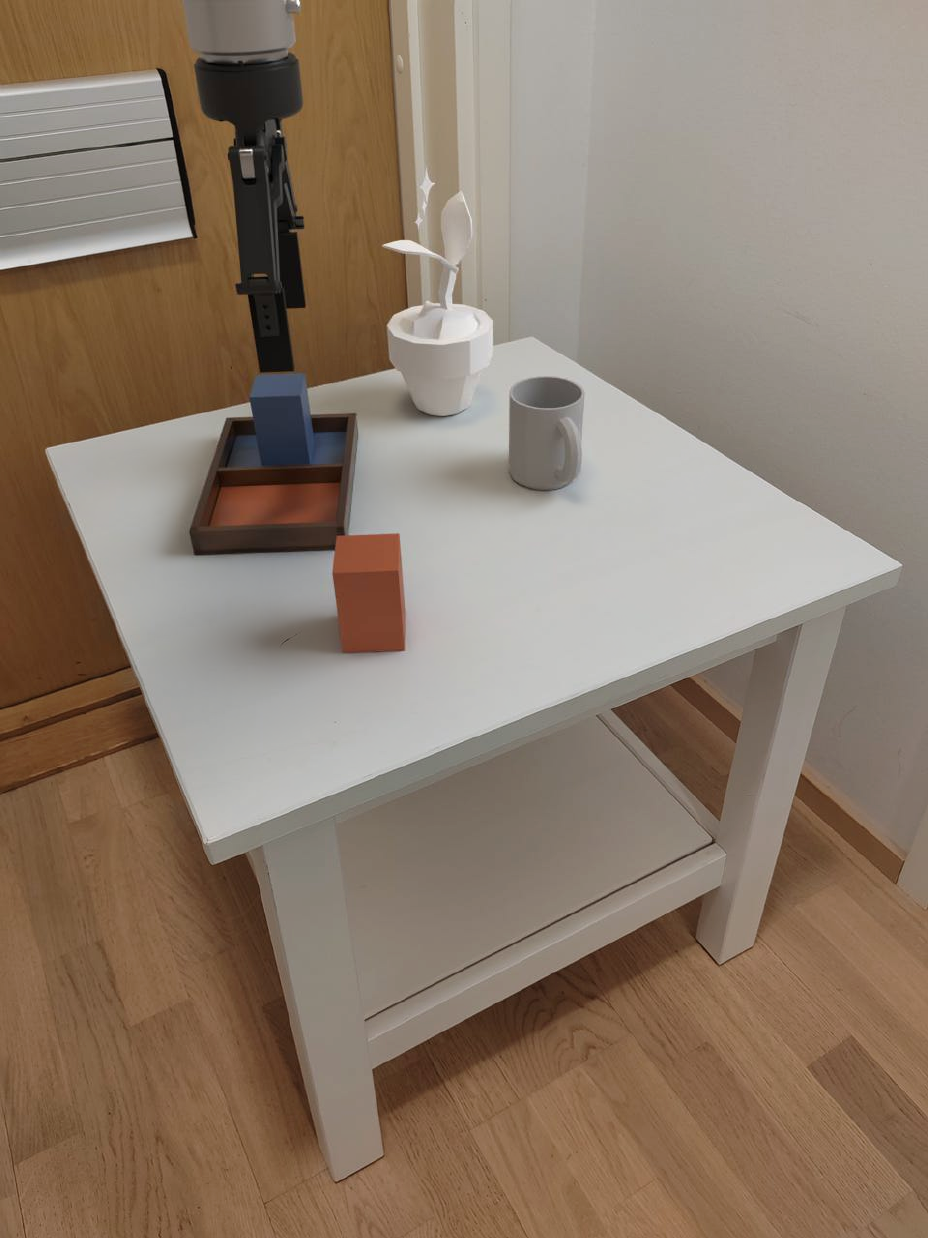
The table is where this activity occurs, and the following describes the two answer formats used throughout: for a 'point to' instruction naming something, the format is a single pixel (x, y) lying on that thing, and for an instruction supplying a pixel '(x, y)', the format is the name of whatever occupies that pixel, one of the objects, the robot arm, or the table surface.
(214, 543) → the tray
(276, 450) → the blue bar
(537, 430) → the cup
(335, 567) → the terracotta bar
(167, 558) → the table surface
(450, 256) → the potted plant
